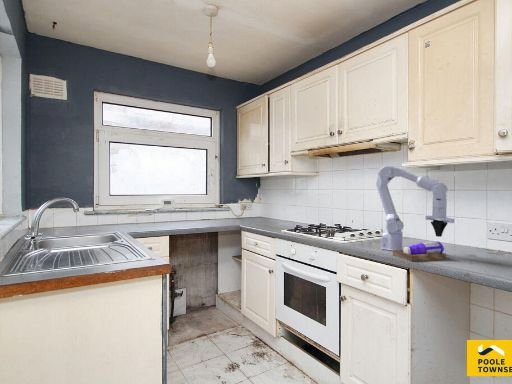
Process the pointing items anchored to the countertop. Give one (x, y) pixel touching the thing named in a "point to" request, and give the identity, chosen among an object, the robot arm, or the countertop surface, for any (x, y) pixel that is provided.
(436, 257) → the cradle
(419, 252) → the bottle
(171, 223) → the countertop surface
